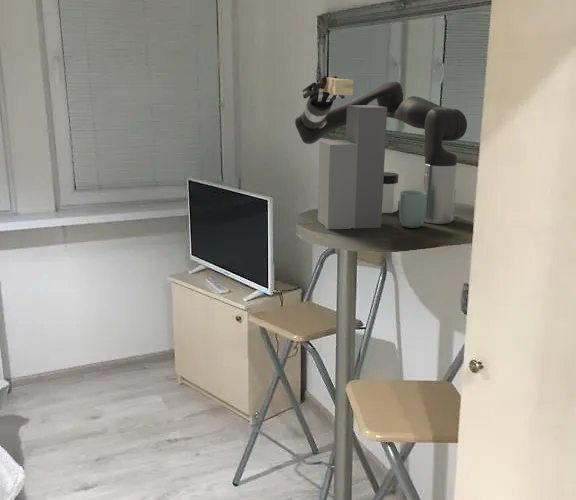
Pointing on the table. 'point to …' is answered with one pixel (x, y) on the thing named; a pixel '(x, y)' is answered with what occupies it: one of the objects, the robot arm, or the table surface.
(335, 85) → the tan wooden bar piece
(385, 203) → the jar
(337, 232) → the table surface
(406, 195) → the cup
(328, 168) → the stand
